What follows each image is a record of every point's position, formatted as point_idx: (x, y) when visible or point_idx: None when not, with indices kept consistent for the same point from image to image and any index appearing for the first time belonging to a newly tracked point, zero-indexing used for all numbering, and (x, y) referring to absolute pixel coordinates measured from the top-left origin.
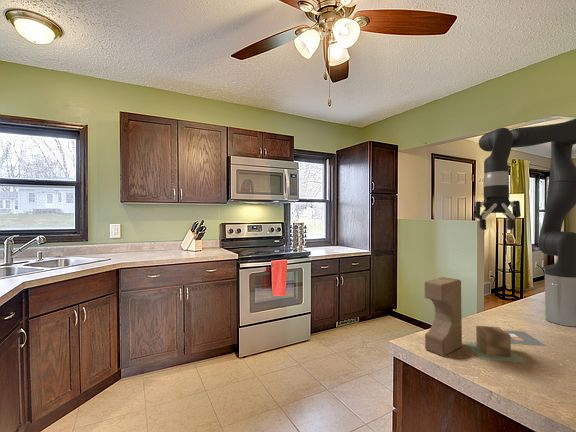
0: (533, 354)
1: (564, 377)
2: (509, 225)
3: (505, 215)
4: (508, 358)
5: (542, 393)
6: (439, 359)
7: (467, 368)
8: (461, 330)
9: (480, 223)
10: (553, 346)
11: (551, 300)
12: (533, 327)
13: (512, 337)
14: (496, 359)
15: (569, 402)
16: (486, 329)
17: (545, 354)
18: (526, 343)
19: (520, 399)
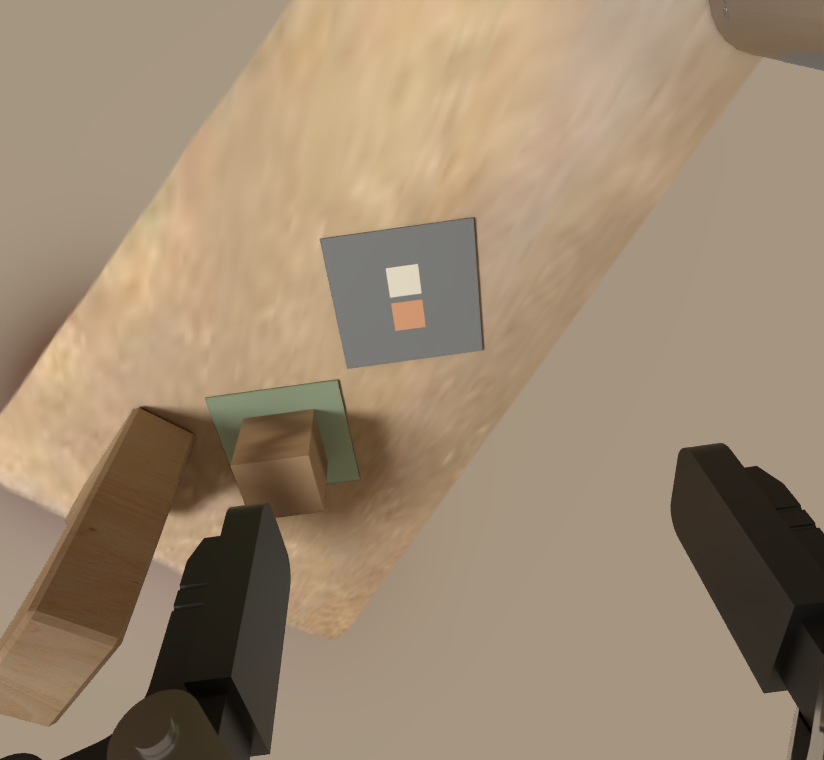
0: (404, 421)
1: (416, 517)
2: (705, 556)
3: (815, 722)
4: None
5: (335, 583)
6: None
7: None
8: (181, 476)
9: (185, 638)
10: (506, 340)
11: (783, 16)
12: (556, 128)
13: (394, 306)
14: None
15: (370, 594)
16: (260, 487)
17: (441, 410)
18: (421, 348)
19: None
